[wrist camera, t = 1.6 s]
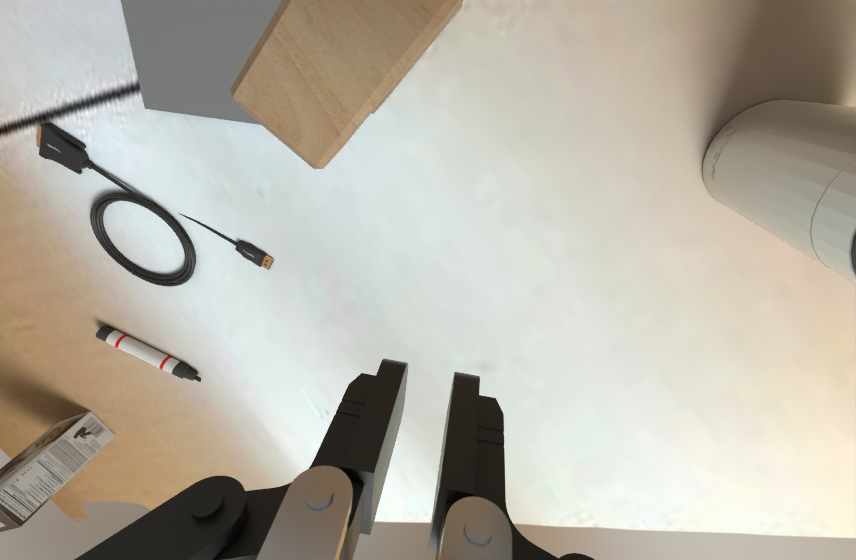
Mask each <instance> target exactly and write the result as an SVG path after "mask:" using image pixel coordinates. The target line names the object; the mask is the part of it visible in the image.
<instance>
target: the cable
mask: <svg viewBox="0 0 856 560" xmlns="http://www.w3.org/2000/svg"><path fill="white" fill-rule="evenodd" d="M37 146H38V147H40V150H39V155H40V156H41V157H43V158H45V159H50V160H53V161H55V162H58V163H60V164H62V165H63V166H65V167H67V168H69V169H71V170H72V171H74V172H76V173H78V174H81V173H82V171H81V170H80V169H84V168H86V167H88V168H89V169H94V170H95V171H97V172H98V173H100V174H101V175H103V176H104V177H106V178H108V179H109V180H111V181H112V182H114V183H115V184H117V185H118V186H120V187H121V188H123V189H124V190H126V191H127V192H128V193H130V194H127V193H111V194H108V195H105V196H103V197H102V198H100V199H99V200H97V201H96V202H95V204H94V205H93V207H92V209H91V214H90V219H91V225H92V228H93V231H94V234H95V236H96V238H97V239H98V241H99V243H100V244H101V246H102V247H103V248H104V249H105V251H106V252H107V253H108V254H109V255H110V256H111V257H112V258H113V259H114V260H115V261H116V262H117V263H119V264H120V265H121V266H123V267H124V268H125V269H126V270H128V271H129V272H131V273H132V274H133V275H135V276H137V277H139V278H141V279H143V280H145V281H148V282H150V283H153V284H156V285H161V286H178V285H181V284H183V283H185V282H187V281H188V280H189V279H190V278H191V276H192V274H193V272H194V268H195V265H196V254H195V249H194V246H193V244H192V241H191V239H190V238H189V236H188V234H187V233H186V231H185V230H184V228H183V227H182V226H181V225H180V224H179V223H178V221H177V220H176V219H175V218H174V217H173V216H171V215H170V214H169V213H168V212H167V211H165V210H164V209H163V208H161V207H160V206H158V205H156V203H153V202H151V201H149V200H147V199H144V198H142V197H140V196H139V195H137V194H136V193H135V192H133V191H132V190H130V189H129V188H127V187H126V186H124V185H123V184H121V183H120V182H118V181H117V180H115V179H114V178H112V177H111V176H109V175H108V174H106V173H105V172H103V171H102V170H100V169H99V168H97V167H96V166H94V163H92V162H90V161H89V157H88V154H87V152H86V151H85V150H84V149H85V148H86V145H84V144H83V143H81V142H80V141H78V140H77V139H75V138H73V137H72V136H70V135H69V134H67V133H65V132H64V131H62V130H60V129H59V128H57V127H56V126H55V125H53V124H52V123H44V124H42V125H41V126H38V134H37ZM115 201H129V202H133V203H136V204H139V205H141V206H143V207H145V208H147V209H149V210H150V211H152V212H154V213H155V214H157V215H158V216H159V217H160V218H162V219H163V220H164V221H165V222H166V223H167V224H168V225H169V226H170V227H171V228H172V229H173V231H174V232H175V233H176V235H177V236H178V238H179V240H180V241H181V244H182V246H183V249H184V252H185V264H184V267H183V268H182V269H181V270H180V271H179V272H177V273H175V274H172V275H160V274H155V273H152V272H149V271H146V270H144V269H142V268H140V267H139V266H137V265H135V264H133V263H132V262H131V261H129V260H128V259H127V258H126V257H124V256H123V255H122V254H121V253H120V252H119V251H118V250H117V249H116V247H115V246H114V245H113V243H112V242H111V241H110V239H109V237H108V235H107V233H106V231H105V228H104V224H103V214H104V210H105V209H106V207H107V206H108V205H109V204H111V203H112V202H115ZM178 214H179V213H178ZM181 215H182V214H181ZM183 216H184V217H186V218H188V219H190V220H192V221H194V222H196V223H198V224H200V225H202V226H203V227H205V228H207V229H209V230H210V231H212V232H214V233H216V234H217V235H219V236H221V237H222V238H224V239H226V240H227V241H229V242H231V243H232V244H234V245H236V249H235V250H237V251H238V252H239V253H240V254H241V255H242V256H243V257H244V258H246V259H248V260H250V261H252V262H253V263H255V264H256V265H258V266H260V267H261V266H263V267H264V268H266V269H268V270H269V269H270V267H271V265H272V263H273V261H274V259H273V258H271V257H270V256H268V255H267V254H266V253H265V252H263V251H261V250H259V249H258V248H256V247H255V246H253V245H252V244H249V243H245V242H243V241H239V242H238V243H237V242H235V241H233V240H231V239H230V238H228V237H226V236H224V235H223V234H221V233H219V232H217V231H215V230H214V229H212V228H210V227H208V226H206V225H204V224H202V223H200V222H198V221H196V220H194V219H192V218H190V217H187V216H185V215H183ZM181 280H182V281H181ZM178 281H179V282H178ZM175 282H176V283H175Z"/></svg>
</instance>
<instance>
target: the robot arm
mask: <svg viewBox="0 0 856 560" xmlns="http://www.w3.org/2000/svg"><path fill="white" fill-rule="evenodd" d="M703 179H704V183H705V186H706V188H707V190H708V192H709V193H710V194H711V195H712V196H713V197H714V198H715V199H716V200H718V201H719V202H721V203H722V204H724V205H725V206H727V207H729V208H730V209H732V210H734V211H735V212H737V213H738V214H740V215H741V216H743V217H745V218H746V219H748V220H750V221H751V222H753V223H755V224H756V225H758V226H760V227H761V228H763V229H765V230H766V231H768V232H770V233H771V234H773V235H775V236H776V237H778V238H780V239H781V240H783V241H785V242H786V243H788V244H789V245H791V246H793V247H794V248H796V249H798V250H799V251H801V252H803V253H804V254H806V255H808V256H809V257H811V258H813V259H814V260H816V261H818V262H819V263H821V264H823V265H824V266H826V267H828V268H829V269H831V270H833V271H835V272H836V273H838V274H840V275H841V276H843V277H845V278H846V279H848V280H850V281H851V282H853V283H855V284H856V107H849V106H840V105H831V104H824V103H814V102H805V101H795V100H786V99H785V100H772V101H768V102H765V103H761V104H758V105H755V106H753V107H751V108H749V109H747V110H745V111H743V112H742V113H740V114H739V115H737V116H736V117H734V118H732V119H731V120H730V121H729V122H728V123H727V124H726V125H725V126H724V127H723V128H722V129H721V130H720V131H719V132H718V134H717V135H716V136H715V137H714V139H713V140H712V142H711V144H710V146H709V148H708V150H707V152H706V155H705V158H704V162H703ZM407 372H408V363H405V362H399V361H394V360H388V359H383V360H382V362H381V365H380V367H379V370H378V372H377V375H376V376H374V375H369V374H363V373H361V374H360V375H359V376H358V377H357V378H356V379H355V380H354V381H352V382H351V383H350V384H349V385H348V388H347V390H346V392H345V394H344V396H343V398H342V402H341V403H340V405H339V407H338V409H337V411H336V415H335V416H334V418H333V420H332V422H331V424H330V426H329V429H328V431H327V433H326V435H325V437H324V439H323V442H322V444H321V446H320V448H319V450H318V452H317V455H316V457H315V459H314V461H313V463H312V465H311V466H310V467H309V469H308V470H306V471H304V472H303V473H301V474H300V475H298V476H297V477H296V478H295V479H294V481H293V482H291V483H289V484H287V485H284V486H281V487H276V488H269V489H260V490H252V491H245V490H244V488H243V486H242V484H241V483H240V482H239V481H237V480H236V479H234V478H232V477H228V476H213V477H209V478H205V479H203V480H201V481H198V482H197V483H195V484H193V485H191V486H190V487H188V488H187V489H185V490H183V491H182V492H180V493H179V494H177V495H176V496H174V497H172V498H171V499H169V500H168V501H166V502H165V503H163V504H161V505H160V506H158V507H157V508H155V509H154V510H152V511H150V512H149V513H147V514H146V515H144V516H143V517H141V518H140V519H138V520H136V521H135V522H133V523H132V524H130V525H128V526H127V527H125V528H124V529H122V530H121V531H119V532H117V533H116V534H114V535H113V536H111V537H110V538H108V539H106V540H105V541H103V542H102V543H100V544H99V545H97V546H95V547H94V548H92V549H91V550H89V551H88V552H86V553H84V554H83V555H81V556H80V557H78V558H76V559H75V560H352V559H353V555H354V552H355V549H356V545H357V542H358V538H359V535H360V533H363V534H367V535H370V534H371V530H372V526H373V523H374V519H375V515H376V512H377V508H378V504H379V500H380V497H381V493H382V489H383V485H384V482H385V478H386V474H387V471H388V467H389V463H390V459H391V456H392V452H393V448H394V444H395V441H396V437H397V433H398V430H399V426H400V422H401V418H402V413H403V408H404V401H405V391H406V382H407ZM479 384H480V377H479V376H475V375H470V374H464V373H459V372H455V373H454V378H453V383H452V389H451V394H450V400H449V405H448V411H447V417H446V423H445V430H444V437H443V444H442V451H441V458H440V465H439V472H438V479H437V486H436V493H435V501H434V508H433V515H432V522H431V529H430V536H429V543H428V548H430V549H435V550H437V551H436V559H435V560H594V559H593V558H591V557H588V556H586V555H582V554H576V553H572V554H567V555H564V556H562V557H560V558H559V559H558V558H557V557H555V556H553V555H551V554H550V553H548V552H546V551H544V550H543V549H541V548H539V547H538V546H536V545H534V544H533V543H531V542H530V541H528V540H527V539H526V538H525V537H524V536H522V535H521V533H520V532H519V531H518V530H517V529H516V527H515V526H514V525H513V523H512V521H511V519H510V517H509V515H508V512H507V508H506V502H505V462H504V434H503V432H504V417H503V412H502V410H501V408H500V406H499V404H498V402H497V400H496V398H491V397H486V396H480V395H479Z"/></svg>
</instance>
